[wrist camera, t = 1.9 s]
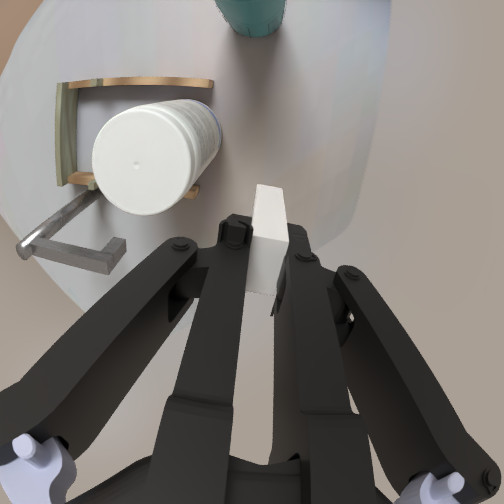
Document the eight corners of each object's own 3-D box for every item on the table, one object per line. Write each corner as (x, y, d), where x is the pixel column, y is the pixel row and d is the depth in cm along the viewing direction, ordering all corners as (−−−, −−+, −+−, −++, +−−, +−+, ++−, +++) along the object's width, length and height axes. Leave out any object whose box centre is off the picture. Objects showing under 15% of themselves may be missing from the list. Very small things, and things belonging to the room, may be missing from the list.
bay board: (213, 80, 29) (206, 78, 26) (198, 192, 37) (191, 203, 33) (74, 82, 28) (57, 83, 25) (72, 177, 36) (57, 186, 33)
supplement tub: (167, 89, 30) (106, 91, 17) (235, 115, 31) (213, 128, 19) (142, 156, 34) (81, 194, 22) (205, 182, 36) (170, 235, 24)
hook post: (166, 191, 37) (102, 264, 22) (166, 204, 38) (105, 283, 23) (94, 182, 36) (14, 242, 21) (95, 194, 37) (18, 258, 22)
